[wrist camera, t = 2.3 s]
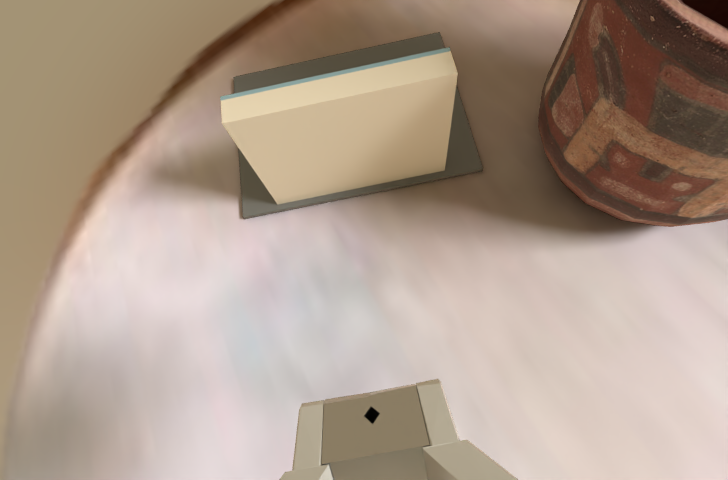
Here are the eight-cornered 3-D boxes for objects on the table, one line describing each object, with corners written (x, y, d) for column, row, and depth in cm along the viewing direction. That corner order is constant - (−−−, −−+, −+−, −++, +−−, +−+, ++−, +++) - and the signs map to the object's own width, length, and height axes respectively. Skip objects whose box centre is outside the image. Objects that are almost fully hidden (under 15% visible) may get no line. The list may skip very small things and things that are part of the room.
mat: (439, 35, 40) (439, 32, 40) (482, 170, 35) (482, 168, 34) (235, 79, 41) (233, 77, 40) (244, 219, 35) (243, 217, 35)
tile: (439, 150, 35) (449, 47, 25) (444, 170, 34) (457, 73, 24) (275, 183, 36) (220, 96, 26) (277, 204, 35) (221, 123, 25)
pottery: (784, 265, 29) (1269, 87, 13) (521, 247, 32) (640, 79, 15) (736, 64, 35) (1022, -234, 19) (518, 63, 38) (601, -203, 21)
